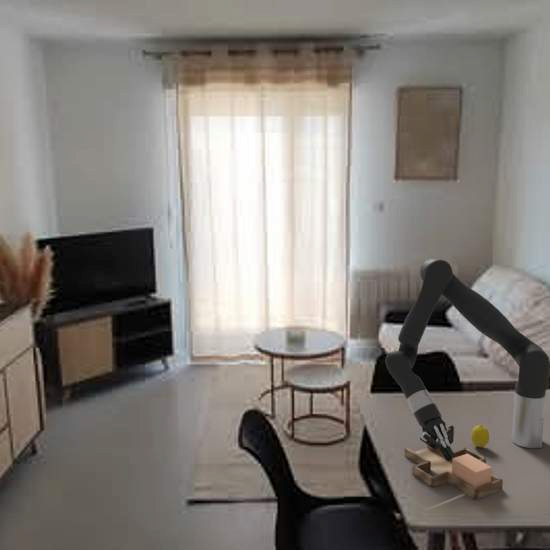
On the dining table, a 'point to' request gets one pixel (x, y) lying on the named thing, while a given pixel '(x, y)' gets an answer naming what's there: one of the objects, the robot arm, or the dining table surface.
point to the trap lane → (448, 471)
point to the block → (471, 470)
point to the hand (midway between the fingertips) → (451, 460)
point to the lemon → (480, 436)
